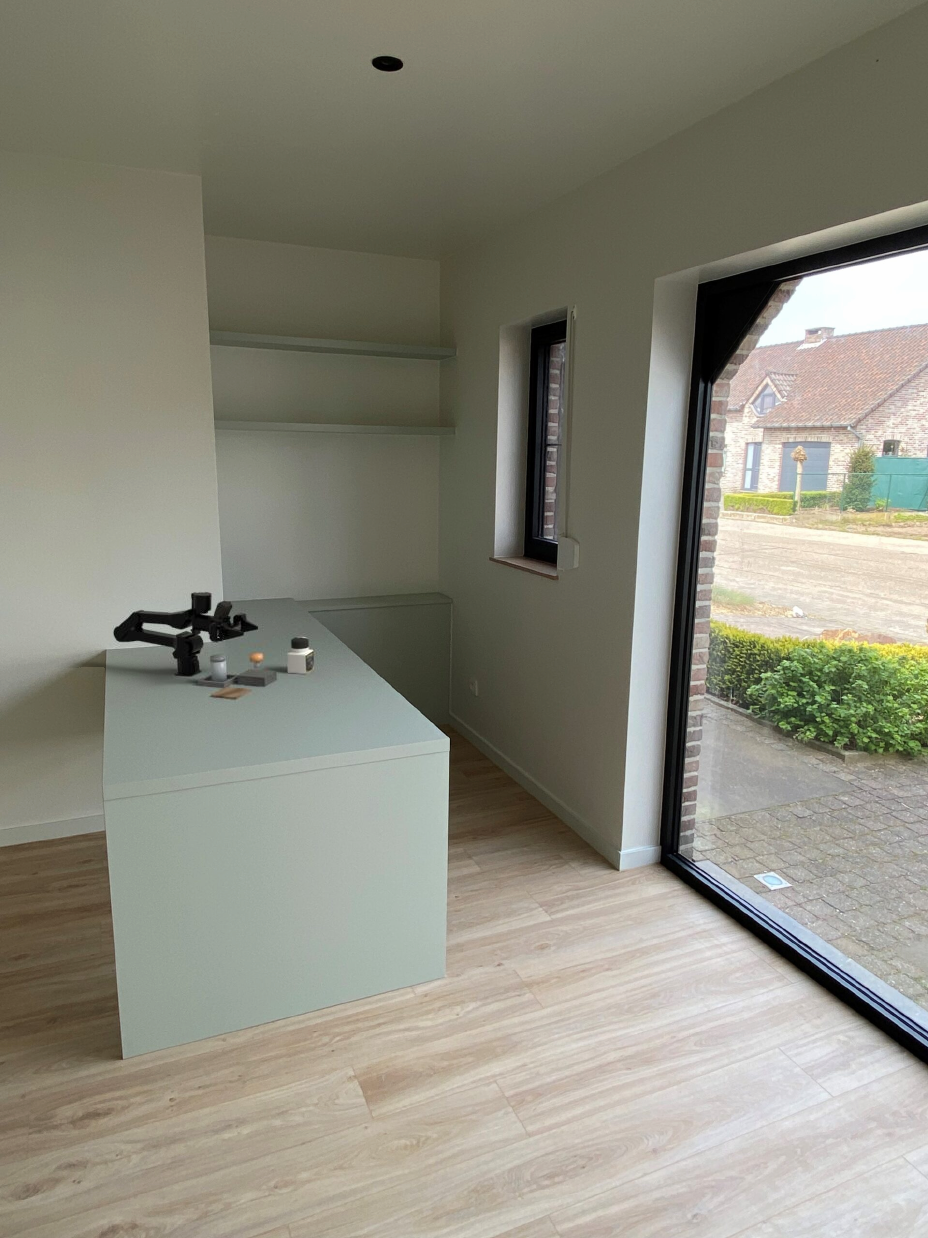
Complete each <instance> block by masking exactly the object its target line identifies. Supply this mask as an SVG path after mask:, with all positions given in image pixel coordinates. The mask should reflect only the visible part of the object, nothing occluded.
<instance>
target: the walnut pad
mask: <svg viewBox="0 0 928 1238" xmlns="http://www.w3.org/2000/svg"><path fill="white" fill-rule="evenodd" d="M251 691H252V689H251V688H244V687H242V688H241V687H233V686H232V687H231V686H227V687H225V688H220V689H219V690H217V691H216V692H213V693H212V694H210V697H211V698H218V697H219V698H220V699H229V700H230V699H231V700H237V699H239V698H242V697H243V696H244V695H246V694H249V693H250V692H251Z"/></svg>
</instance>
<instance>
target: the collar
mask: <svg viewBox="0 0 928 1238" xmlns="http://www.w3.org/2000/svg"><path fill="white" fill-rule="evenodd" d="M238 675H239V674H233V673H227V681H225V682H215V681H212V679H211V674H209V675H206V676H205V677H203V678H200V679H198V680H197V685H198V686H202V687H210V688H211V687H212V688H213V687H214V688H221V689H223V688H225V687H230V686H231V685H233V684H234V683H236V682H238Z"/></svg>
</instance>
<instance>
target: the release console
mask: <svg viewBox="0 0 928 1238" xmlns="http://www.w3.org/2000/svg"><path fill="white" fill-rule="evenodd" d="M237 675H238V681H237V684H238V685H246V686H254V687H255V686H257V687H266V686H269V685H270V684H272V683H274V682H275V681H277V680H278V679H277V677H278V675H277V670H276V671H275V670H266V669H258V668H249V669H247V670H245V671H243V672H241V673H239V674H237Z"/></svg>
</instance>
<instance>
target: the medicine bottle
mask: <svg viewBox="0 0 928 1238" xmlns="http://www.w3.org/2000/svg"><path fill="white" fill-rule="evenodd" d="M290 643H291V644H290V648H291V649H290V650H291V651H289V652H287V654H286V662H287V674H299V675H307V674H308V673H310V672H312V671H314V669H315V660H314V658H315V656H314V655H315V654H314V650H313V649H310V646H309V645H310V644H309V643H310V641H309V639H308V637H305V636H297V637H296V636H295V637H293V638H291V639H290Z"/></svg>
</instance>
